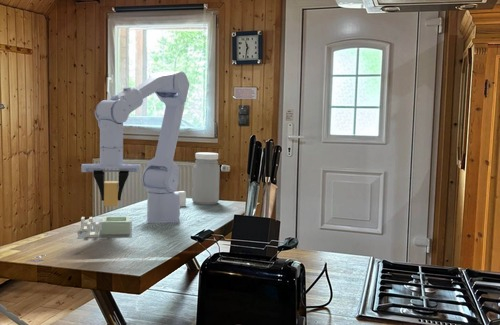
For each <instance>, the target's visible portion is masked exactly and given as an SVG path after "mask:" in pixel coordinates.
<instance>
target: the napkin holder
mask: <svg viewBox="0 0 500 325" xmlns="http://www.w3.org/2000/svg"><path fill="white" fill-rule="evenodd" d="M175 192H179V195H180V207H185V206H186V205H187V191H184V190H180V191H175Z"/></svg>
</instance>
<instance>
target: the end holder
mask: <svg viewBox="0 0 500 325" xmlns="http://www.w3.org/2000/svg"><path fill="white" fill-rule="evenodd" d="M101 222H102V230H101V235H104V234H130V222H131V216H130V215H129V216H128V215H127V216H126V215H124V216H122V215H121V216H117V215H115V216H114V215H112V216H111V215H110V216H107V215H106V216H105V215H104V216H102V220H101Z"/></svg>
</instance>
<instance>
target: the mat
mask: <svg viewBox="0 0 500 325" xmlns="http://www.w3.org/2000/svg"><path fill="white" fill-rule="evenodd" d="M88 222H89V221H88ZM88 222H87V221H85V226H87V223H88ZM96 222H97V221H95V222H94V221H93V230H92V231H91V232H95V224H96ZM98 222H99V232H100V234H99V237H86V234H87V231H80V230H79V233H78V236H77V238H76V240H77V239H80V240H81V239H82V240H83V239H123V238H124V239H125V238H127V239H128V238H131V239H132V238H133V232H132V231H133V230H132V229H133V227H132V226H133V225H132V224H133V222H132V221H130V234H104V235H101V230H102V221H98Z"/></svg>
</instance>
